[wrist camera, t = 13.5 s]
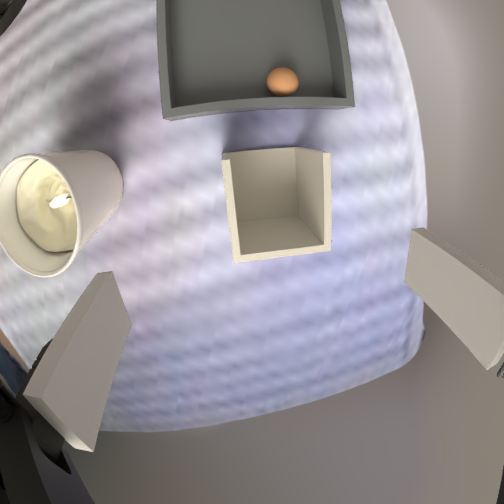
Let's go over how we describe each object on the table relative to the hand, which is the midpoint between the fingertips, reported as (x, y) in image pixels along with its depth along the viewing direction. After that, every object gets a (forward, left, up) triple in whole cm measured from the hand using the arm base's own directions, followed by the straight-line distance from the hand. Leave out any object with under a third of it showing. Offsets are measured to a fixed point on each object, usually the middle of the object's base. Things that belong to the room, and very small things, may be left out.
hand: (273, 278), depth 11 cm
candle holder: (-3, -17, -19) cm, 26 cm away
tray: (-17, +2, -19) cm, 26 cm away
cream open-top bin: (0, +2, -19) cm, 19 cm away
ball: (-11, +5, -17) cm, 20 cm away
